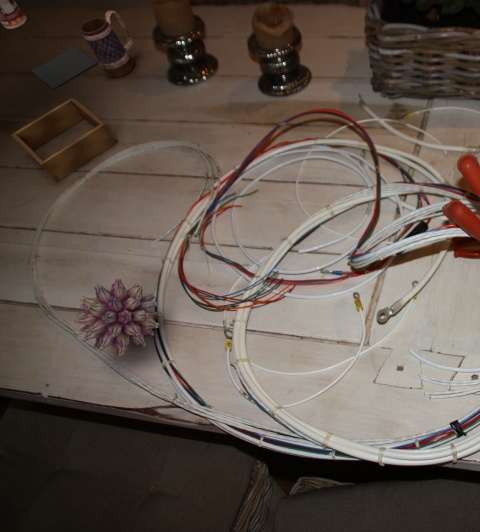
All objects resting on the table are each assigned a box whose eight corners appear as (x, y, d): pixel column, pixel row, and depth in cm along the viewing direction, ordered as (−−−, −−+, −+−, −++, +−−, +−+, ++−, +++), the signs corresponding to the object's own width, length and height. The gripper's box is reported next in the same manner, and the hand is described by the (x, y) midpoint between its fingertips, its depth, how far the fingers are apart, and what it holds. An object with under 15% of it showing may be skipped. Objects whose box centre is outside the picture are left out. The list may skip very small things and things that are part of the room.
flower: (132, 305, 93) (188, 303, 89) (98, 368, 86) (157, 369, 82) (83, 264, 85) (142, 260, 81) (40, 331, 78) (103, 330, 74)
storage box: (57, 182, 111) (41, 165, 107) (26, 152, 117) (10, 134, 113) (118, 141, 116) (105, 123, 112) (85, 115, 122) (72, 97, 118)
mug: (118, 81, 128) (89, 35, 119) (100, 73, 131) (70, 28, 121) (150, 57, 133) (125, 11, 123) (132, 50, 135) (105, 4, 126)
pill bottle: (16, 30, 112) (-13, -9, 105) (-1, 28, 113) (-31, -11, 106) (32, 17, 114) (4, -22, 108) (15, 15, 116) (-14, -24, 109)
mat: (53, 90, 129) (52, 88, 129) (32, 72, 135) (31, 70, 134) (97, 64, 134) (96, 62, 133) (74, 47, 139) (74, 46, 139)
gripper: (-85, -72, 103) (-30, -2, 115) (-47, -43, 94) (9, 30, 105) (-53, -86, 105) (-2, -16, 117) (-13, -59, 96) (38, 14, 108)
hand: (3, 6), depth 111 cm, fingers closed on pill bottle, 5 cm apart
